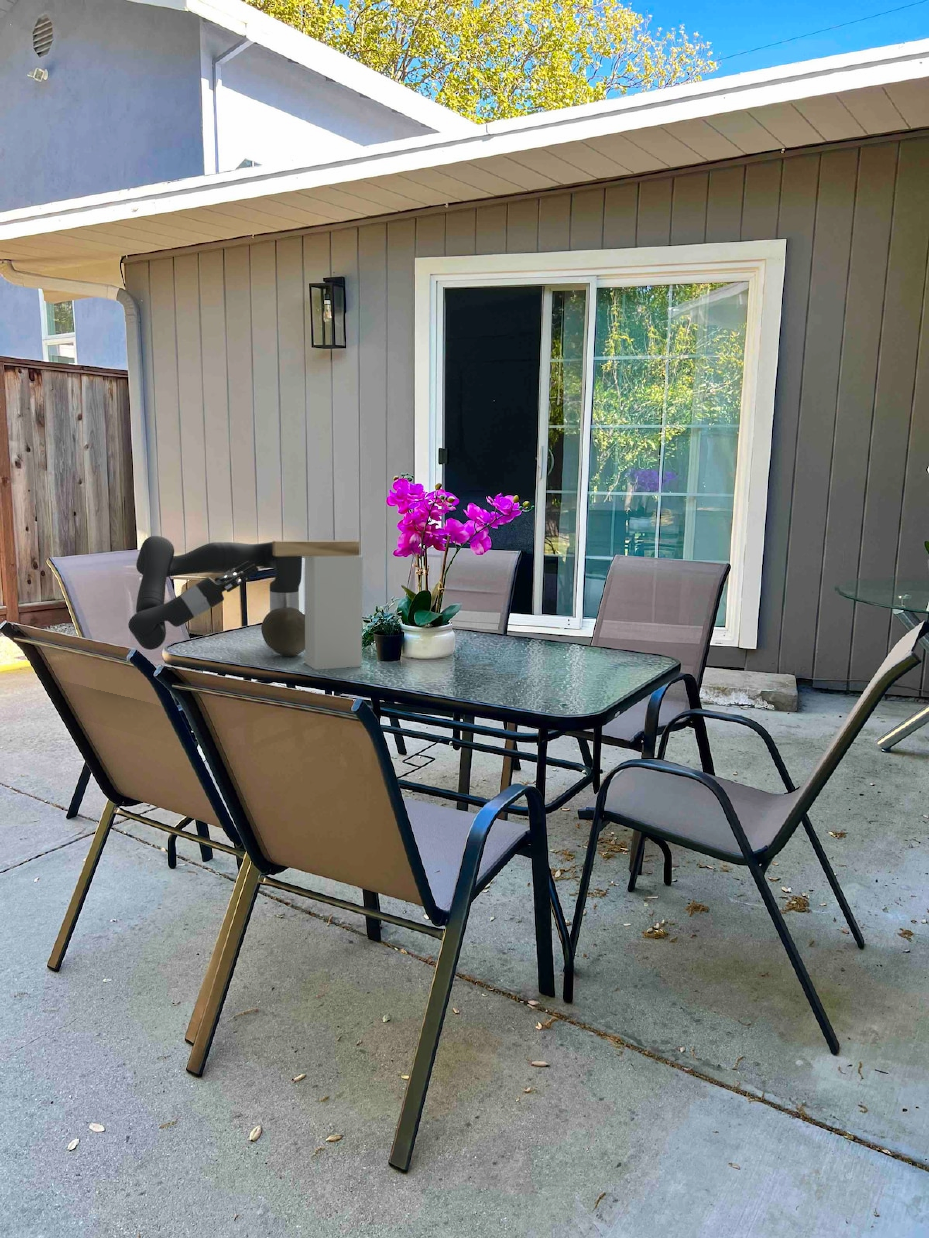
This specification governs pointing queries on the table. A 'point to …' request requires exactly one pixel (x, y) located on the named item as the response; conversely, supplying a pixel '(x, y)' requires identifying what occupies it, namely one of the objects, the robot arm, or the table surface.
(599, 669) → the table surface
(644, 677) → the table surface
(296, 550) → the oak slat
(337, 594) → the pedestal
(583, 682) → the table surface
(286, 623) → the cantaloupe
